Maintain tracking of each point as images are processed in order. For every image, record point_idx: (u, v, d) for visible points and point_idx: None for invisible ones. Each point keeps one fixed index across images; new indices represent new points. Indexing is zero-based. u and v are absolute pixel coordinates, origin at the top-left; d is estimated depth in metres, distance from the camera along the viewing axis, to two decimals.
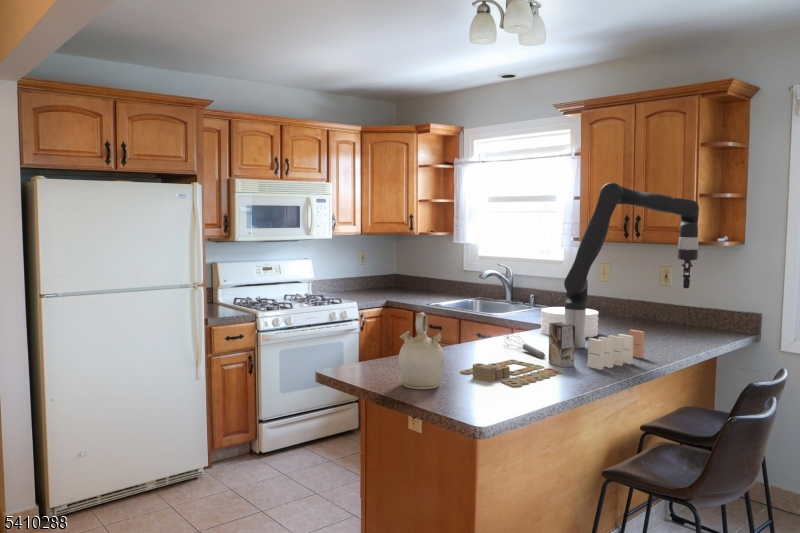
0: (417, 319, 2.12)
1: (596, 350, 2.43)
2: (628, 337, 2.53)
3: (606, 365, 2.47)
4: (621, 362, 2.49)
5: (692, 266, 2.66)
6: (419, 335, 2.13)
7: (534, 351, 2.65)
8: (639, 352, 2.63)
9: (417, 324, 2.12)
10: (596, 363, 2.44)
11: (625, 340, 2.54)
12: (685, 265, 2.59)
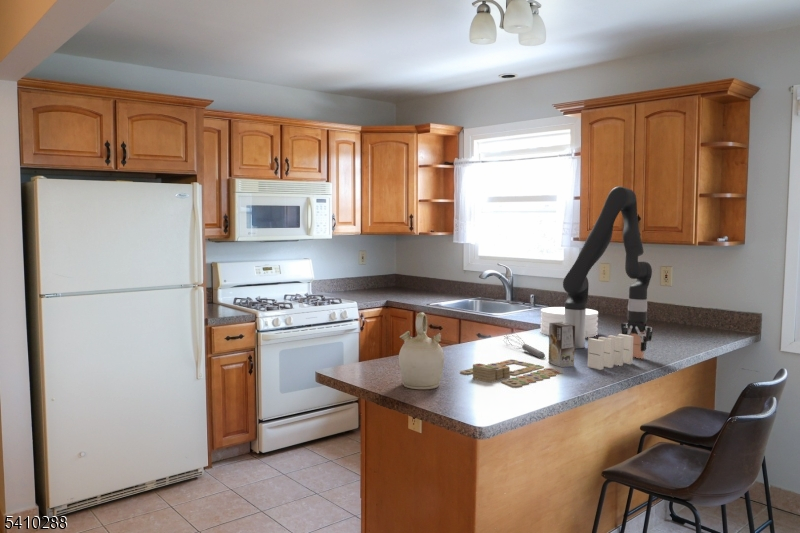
0: (417, 319, 2.12)
1: (596, 350, 2.43)
2: (628, 337, 2.53)
3: (606, 365, 2.47)
4: (621, 362, 2.49)
5: (637, 328, 2.63)
6: (419, 335, 2.13)
7: (534, 351, 2.65)
8: (639, 352, 2.63)
9: (417, 324, 2.12)
10: (596, 363, 2.44)
11: (625, 340, 2.54)
12: None
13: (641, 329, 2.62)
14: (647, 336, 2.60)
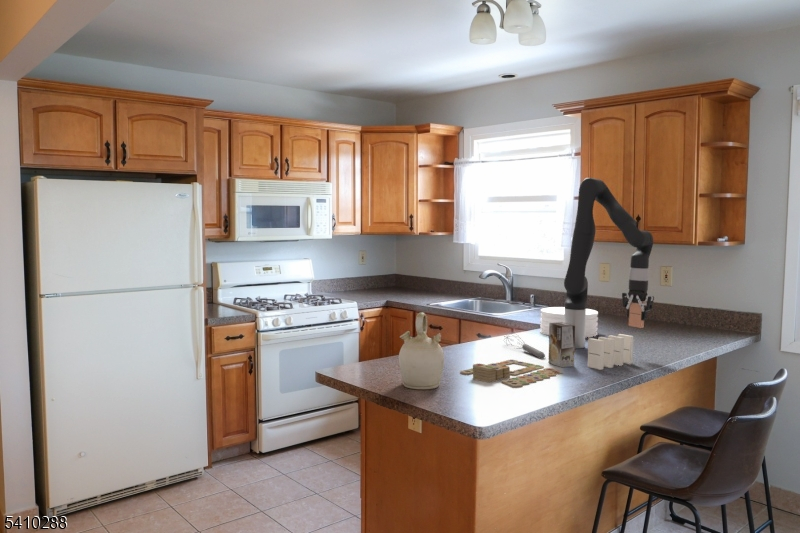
0: (417, 319, 2.12)
1: (596, 350, 2.43)
2: (628, 337, 2.53)
3: (606, 365, 2.47)
4: (621, 362, 2.49)
5: (638, 298, 2.62)
6: (419, 335, 2.13)
7: (534, 351, 2.65)
8: (639, 321, 2.62)
9: (417, 324, 2.12)
10: (596, 363, 2.44)
11: (625, 340, 2.54)
12: None
13: (642, 298, 2.61)
14: (648, 305, 2.59)
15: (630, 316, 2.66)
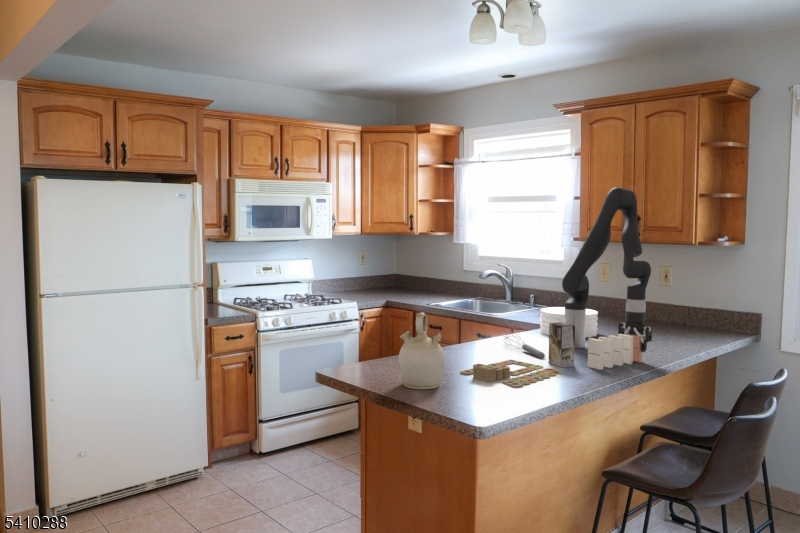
0: (417, 319, 2.12)
1: (596, 350, 2.43)
2: (628, 337, 2.53)
3: (606, 365, 2.47)
4: (621, 362, 2.49)
5: (635, 329, 2.55)
6: (419, 335, 2.13)
7: (534, 351, 2.65)
8: (637, 356, 2.56)
9: (417, 324, 2.12)
10: (596, 363, 2.44)
11: (625, 340, 2.54)
12: None
13: (639, 329, 2.55)
14: (647, 336, 2.52)
15: None
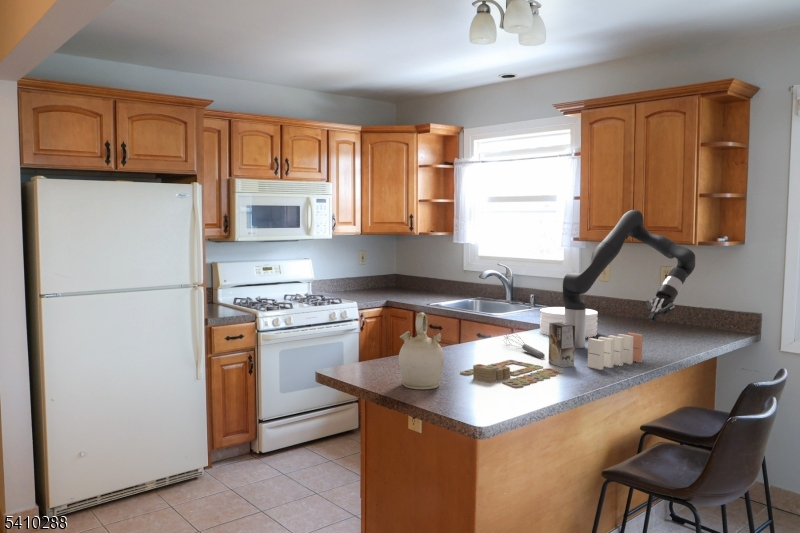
0: (417, 319, 2.12)
1: (596, 350, 2.43)
2: (628, 337, 2.53)
3: (606, 365, 2.47)
4: (621, 362, 2.49)
5: (662, 300, 2.65)
6: (419, 335, 2.13)
7: (533, 351, 2.65)
8: (637, 356, 2.56)
9: (417, 324, 2.12)
10: (596, 363, 2.44)
11: (625, 340, 2.54)
12: None
13: (664, 303, 2.64)
14: (664, 308, 2.62)
15: None
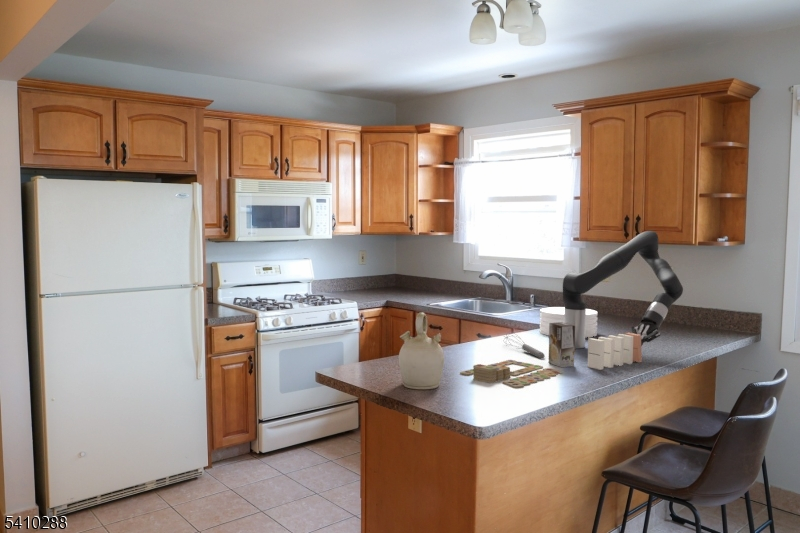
0: (417, 319, 2.12)
1: (596, 350, 2.43)
2: (628, 337, 2.53)
3: (606, 365, 2.47)
4: (621, 362, 2.49)
5: (647, 327, 2.60)
6: (419, 335, 2.13)
7: (533, 351, 2.65)
8: (637, 356, 2.56)
9: (417, 324, 2.12)
10: (596, 363, 2.44)
11: (625, 340, 2.54)
12: None
13: (649, 330, 2.59)
14: (649, 335, 2.57)
15: None
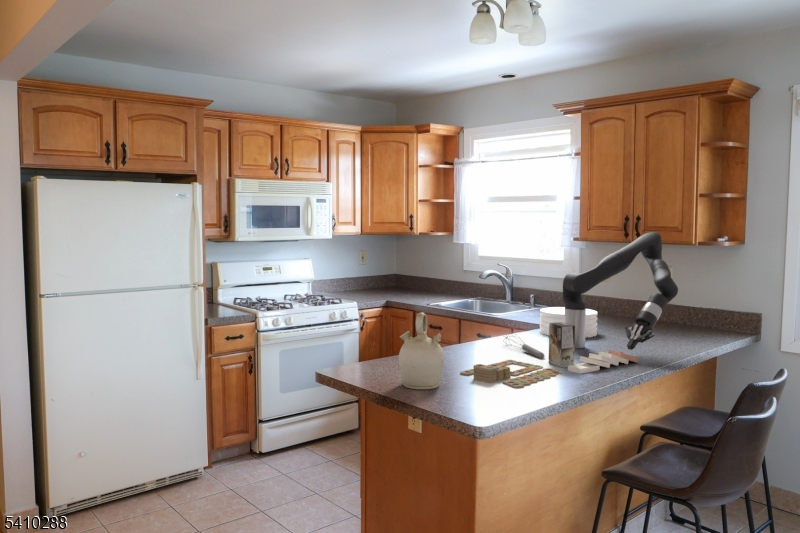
0: (417, 319, 2.12)
1: None
2: None
3: None
4: (616, 363, 2.48)
5: (641, 327, 2.58)
6: (419, 335, 2.13)
7: (533, 351, 2.65)
8: (632, 361, 2.54)
9: (417, 324, 2.12)
10: None
11: None
12: None
13: (643, 330, 2.57)
14: (643, 336, 2.55)
15: None
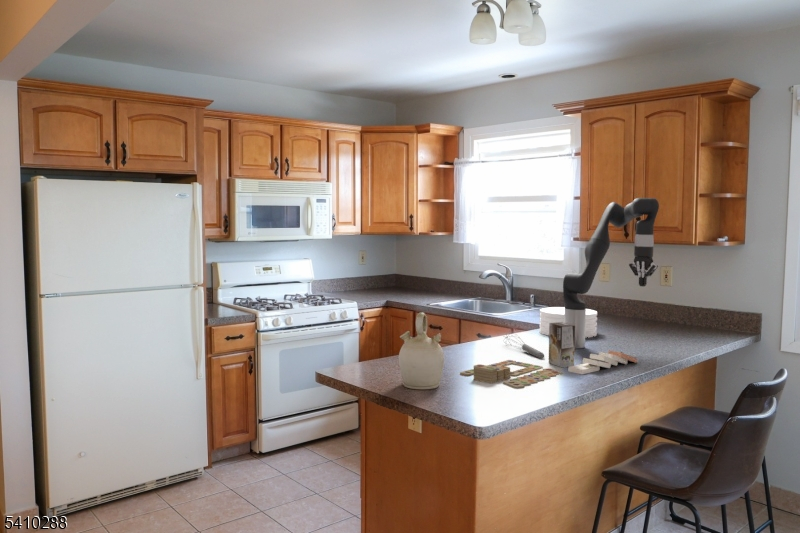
0: (417, 319, 2.12)
1: None
2: (610, 358, 2.46)
3: None
4: (615, 363, 2.48)
5: (643, 264, 2.68)
6: (419, 335, 2.13)
7: (533, 351, 2.65)
8: (631, 361, 2.54)
9: (417, 324, 2.12)
10: None
11: None
12: None
13: (646, 266, 2.68)
14: (649, 272, 2.67)
15: None
